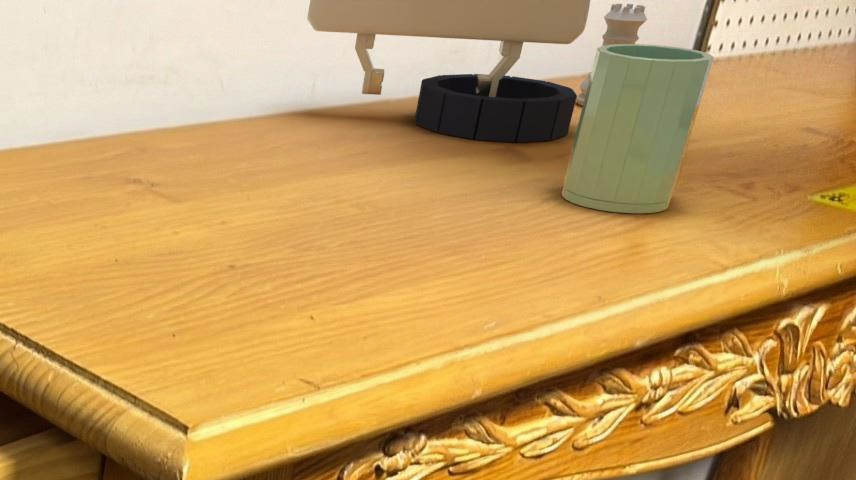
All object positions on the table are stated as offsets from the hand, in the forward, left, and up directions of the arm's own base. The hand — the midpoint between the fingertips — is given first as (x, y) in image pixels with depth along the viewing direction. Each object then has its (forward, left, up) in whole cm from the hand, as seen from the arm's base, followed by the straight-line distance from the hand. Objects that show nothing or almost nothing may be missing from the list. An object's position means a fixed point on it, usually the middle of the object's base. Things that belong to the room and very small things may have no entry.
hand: (426, 97), depth 97 cm
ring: (-5, 0, -2) cm, 5 cm away
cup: (-11, +21, -2) cm, 24 cm away
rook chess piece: (-15, -12, -2) cm, 19 cm away
